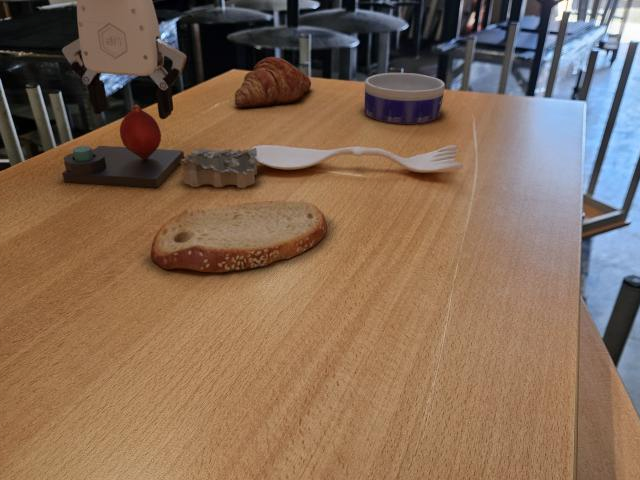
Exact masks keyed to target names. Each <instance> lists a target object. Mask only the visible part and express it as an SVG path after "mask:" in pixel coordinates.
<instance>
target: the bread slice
mask: <svg viewBox="0 0 640 480" xmlns="http://www.w3.org/2000/svg"><path fill="white" fill-rule="evenodd" d="M327 231H328V223H327V221H326V217H325V214H324V213H323V211H321V210H320V208H319V207H318V206H317V205H315V204H313V203H311V202H307V201H305V200H285V199H284V200H275V201H273V200H270V201H269V200H265V201H252V202H243V203H235V204H227V205H221V206H213V207H207V208H206V207H205V208H195V209H191V210H188V209H184V210H182V211H181V212H179V213H178V214H177V215H175V216H172V217H171V218H169V219H168V220H167V221H166V222H165V223H163V225H161V227H160V228H159V230H158V231H157V232H156V234H155V235H154V237H153V239H152V244H151V248H150V259H151V261H152V262H154V263H156V264H157V265H158V266H160V267H161V268H163V269H165V270H174V269H180V270H181V269H182V270H191V271H195V272H201V273H220V274H221V273H226V272H232V271H242V270H248V269H254V268H258V267H259V268H260V267H266V266H268V265H270V264H272V263H273V262H277V261H281V260H285V259H286V260H288V259H290V258H293V257H295V256H299V255H301V254H303V252H306V251H307V250H309V249H310V248H313V247H315V246H316V245H317V244H318V243H319V242H320V241H321V240H322V239H323V238H324V237H325V236H326V232H327Z"/></svg>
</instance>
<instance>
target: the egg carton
mask: <svg viewBox="0 0 640 480" xmlns="http://www.w3.org/2000/svg"><path fill="white" fill-rule="evenodd" d="M256 156H257V150H256V148H254V149H244V150H240V149H236V151H235V150H233V148H229V149H225V150H224V149H217V150H212V149H210V148H205V147H199V148H196V149H194V150H193V151H191V152H190V153H188V154H187V155H186V157H184V159H180V165H181V168H182V174H183V175H182V176H183V182H184V185H189V186H190V187H191V188H199V187H201V186H203V185H211V186H213V187H214V188H223V187H225V186H229V185H232V186H236V187H237V188H239V189H245V188H247V187H248V186H252V185H254V184H255V183H256V179H255V176H256V175H257V174H258V167H257V166H258V165H257V162H256Z"/></svg>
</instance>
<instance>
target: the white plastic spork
mask: <svg viewBox="0 0 640 480" xmlns="http://www.w3.org/2000/svg"><path fill="white" fill-rule="evenodd" d="M254 148H256V150H257V156H256V163H259V164H261V165H263V166H266V167H269V168H271V169H276V170H284V171H286V170H287V171H294V170H301V169H306V168H310V167H313V166H315V165H318V164H320V163H323V162H325V161H327V160H331V159H333V158H335V157H339V156H345V155H347V156H348V155H351V156H354V157H362V156H370V157H371V156H372V157H381V158H385V159H388V160H389V161H391V162H393V163H394V164H397V165H399V166H401V167H402V168H404V169H406V170H408V171H411V172H414V173H424V174H425V173H427V174H428V173H448V172H457V171H461V170H463V168H464V164H462V163H460V162H459V161H457V159H456V157H457V151H458V145H456V144H451V145H446V146H444V147H441V148H439V149H436V150H433V151H430V152H425V153H420V154H416V155H413V156H411V157H402V156H400V155H397V154H395V153H393V152H391V151H388V150H387V149H386V150H385V149H383V148H377V147H364V146H359V145H356V146H348V147H347V146H345V147H339V148H333V149H316V148H315V149H314V148H307V147H303V148H302V147H294V146H293V147H292V146H287V145H286V146H285V145H276V144H275V145H273V144H260V145H255V146H253V147H252V148H251V149H254ZM251 149H250V150H251Z"/></svg>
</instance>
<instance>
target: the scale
mask: <svg viewBox="0 0 640 480" xmlns="http://www.w3.org/2000/svg"><path fill="white" fill-rule="evenodd" d="M92 152H93V157H94V158H93V159H90V160H86V161H75V158H74V154H73V152H71V153H69V154H67V155H65V156H64V157H63V163H64V167H65V170H64V171H63V172H62V173H61V174H62V178H63V183H74V184H88V185H89V184H90V185H102V186H103V185H104V186H117V187H118V186H120V187H132V188H133V187H135V188H149V189H150V188H151V189H158V188H159V187H160V186H161V185H162V184H163V183H164V182H165V181H166V179H167V178H168V177H170V175H171V174H172V173H173V172H174V171H175V170H176V169H178V167H179V166H180V165H181V163H180V159H185V152H184V150H180V149H163V148H157V149H156V150H155V151H154V152H153V153H152V154H151V155H150V156H149V157H148V158H147V159H142V158H140V157H139V156H138V155H136V154H134V153H133V152H131V151H130V150H128V149H127V148H126V147H125V146H110V145H98V146H96V147H95V148H93V149H92Z"/></svg>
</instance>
